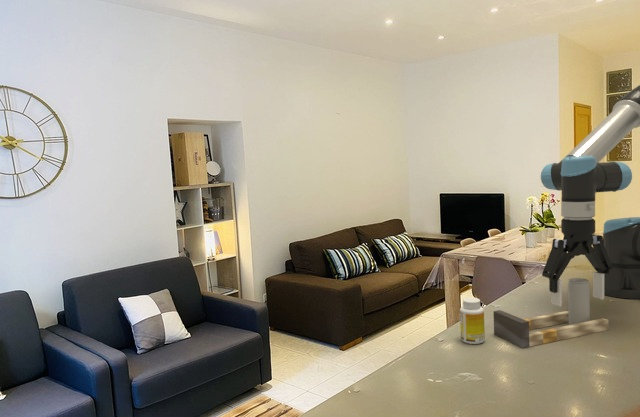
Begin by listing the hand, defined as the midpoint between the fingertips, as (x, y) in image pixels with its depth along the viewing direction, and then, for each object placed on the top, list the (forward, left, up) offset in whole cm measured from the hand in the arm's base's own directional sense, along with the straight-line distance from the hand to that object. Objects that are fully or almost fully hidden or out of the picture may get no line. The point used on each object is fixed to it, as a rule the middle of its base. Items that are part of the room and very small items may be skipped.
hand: (577, 301), depth 123 cm
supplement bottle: (+29, -4, -7) cm, 30 cm away
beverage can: (0, 0, -7) cm, 7 cm away
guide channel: (+8, 0, -7) cm, 10 cm away
